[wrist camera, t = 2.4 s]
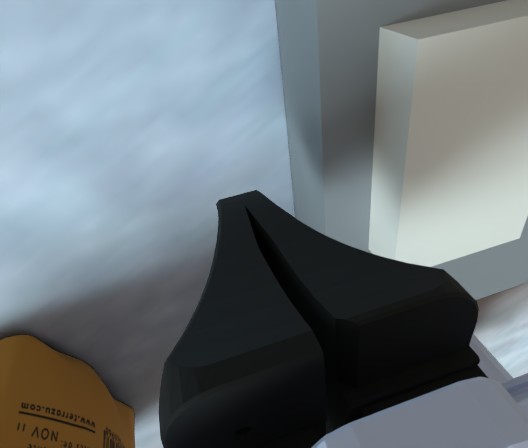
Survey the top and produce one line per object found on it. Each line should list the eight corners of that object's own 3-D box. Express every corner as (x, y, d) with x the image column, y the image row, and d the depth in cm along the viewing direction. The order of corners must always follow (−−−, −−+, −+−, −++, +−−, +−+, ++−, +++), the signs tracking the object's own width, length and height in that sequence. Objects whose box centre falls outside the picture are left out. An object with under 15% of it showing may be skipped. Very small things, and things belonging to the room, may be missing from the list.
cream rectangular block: (485, 213, 18) (519, 238, 17) (368, 248, 17) (392, 278, 16) (546, -8, 13) (604, -2, 11) (379, 26, 12) (418, 39, 10)
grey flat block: (498, 235, 26) (549, 275, 23) (302, 297, 24) (329, 349, 21) (658, -278, 13) (829, -348, 10) (252, -241, 11) (304, -317, 8)
